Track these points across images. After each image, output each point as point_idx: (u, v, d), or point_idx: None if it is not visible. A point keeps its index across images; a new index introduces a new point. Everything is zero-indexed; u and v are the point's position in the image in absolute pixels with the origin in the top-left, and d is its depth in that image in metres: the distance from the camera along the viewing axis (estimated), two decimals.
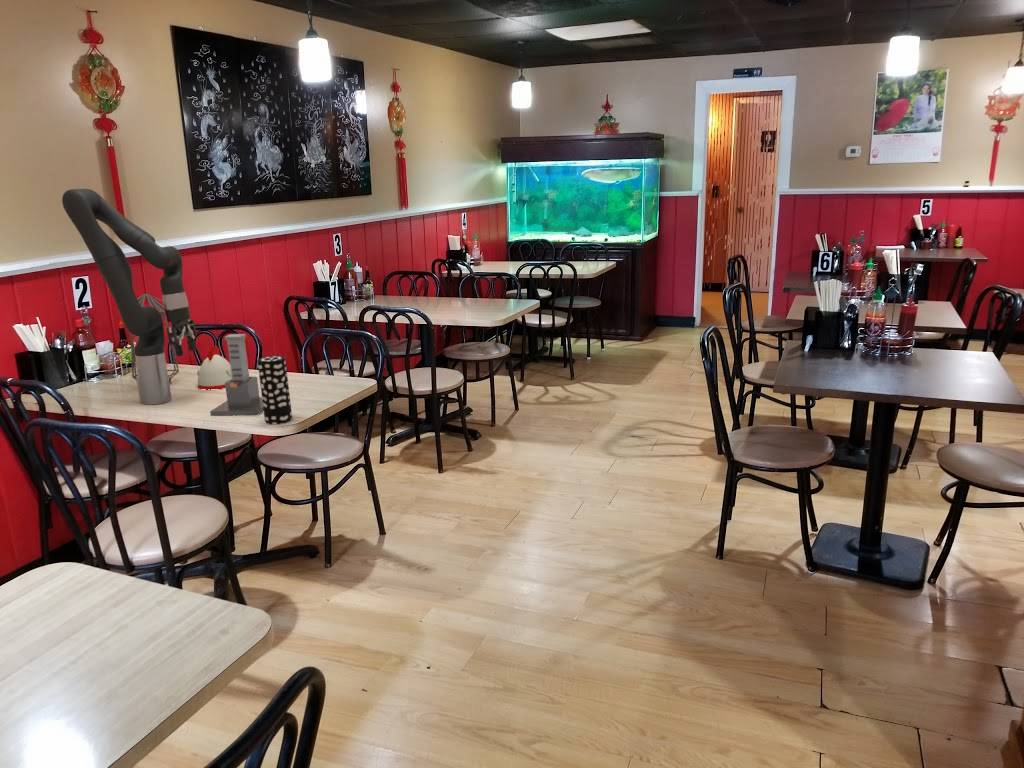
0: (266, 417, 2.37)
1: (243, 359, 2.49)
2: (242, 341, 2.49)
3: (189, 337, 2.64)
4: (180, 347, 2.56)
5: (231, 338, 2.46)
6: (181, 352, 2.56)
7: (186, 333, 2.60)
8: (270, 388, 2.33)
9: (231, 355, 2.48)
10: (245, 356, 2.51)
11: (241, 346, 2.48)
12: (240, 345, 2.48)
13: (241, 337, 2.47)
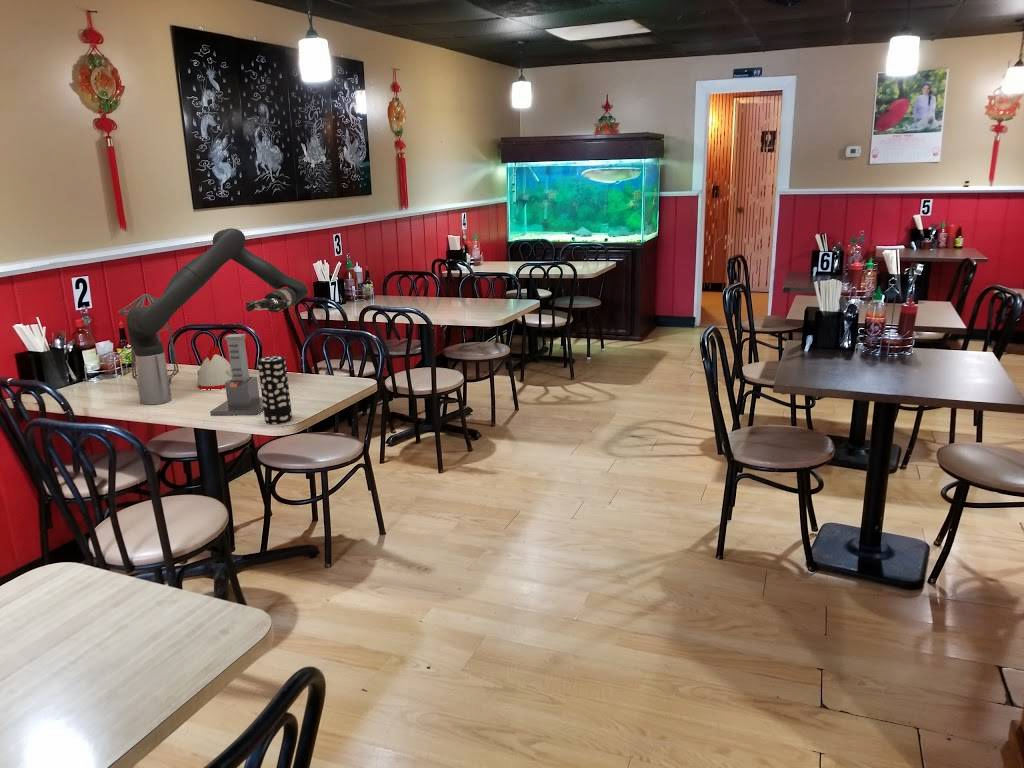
0: (266, 417, 2.37)
1: (243, 359, 2.49)
2: (242, 341, 2.49)
3: (253, 305, 2.71)
4: (275, 309, 2.69)
5: (231, 338, 2.46)
6: (273, 310, 2.67)
7: (265, 308, 2.73)
8: (270, 388, 2.33)
9: (231, 355, 2.48)
10: (245, 356, 2.51)
11: (241, 346, 2.48)
12: (240, 345, 2.48)
13: (241, 337, 2.47)
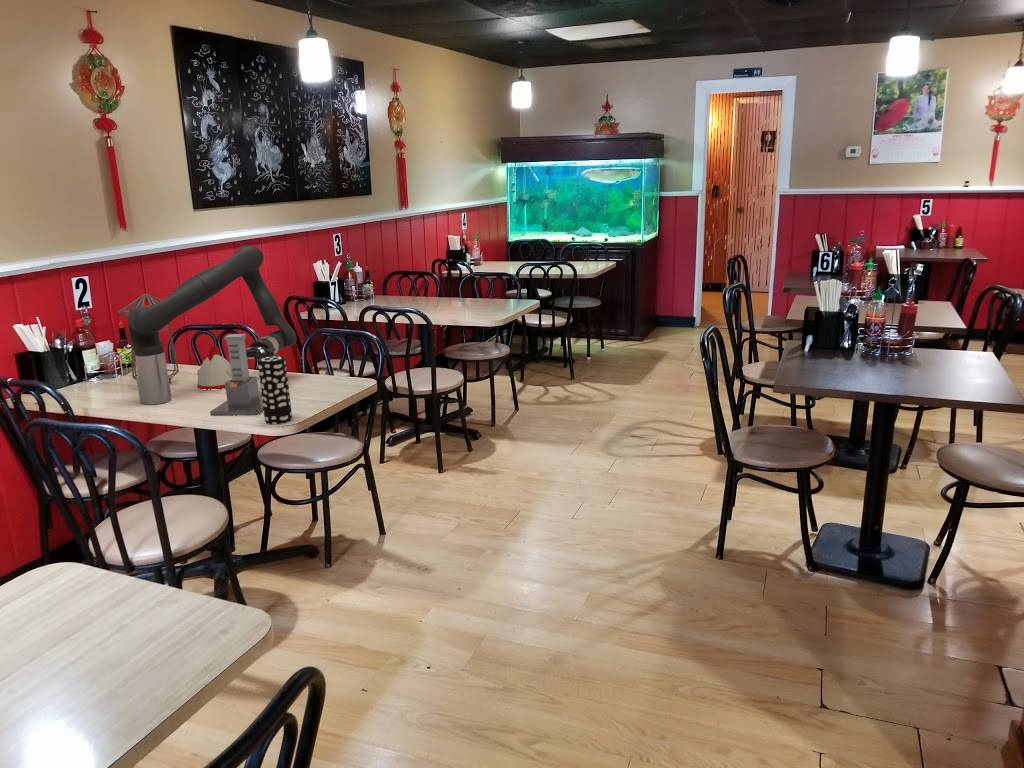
0: (266, 417, 2.37)
1: (243, 359, 2.49)
2: (242, 341, 2.49)
3: None
4: None
5: (231, 338, 2.46)
6: None
7: (251, 357, 2.62)
8: (270, 388, 2.33)
9: (231, 355, 2.48)
10: (245, 356, 2.51)
11: (241, 346, 2.48)
12: (240, 345, 2.48)
13: (241, 337, 2.47)
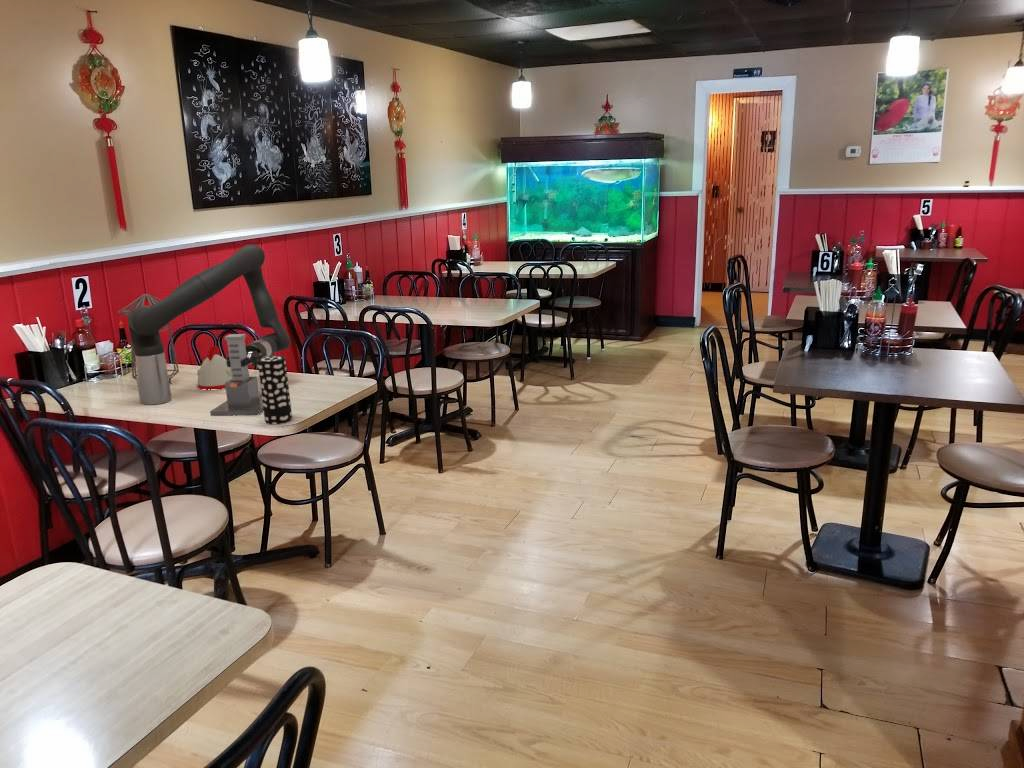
0: (266, 417, 2.37)
1: None
2: (242, 341, 2.49)
3: None
4: None
5: (231, 338, 2.46)
6: (244, 365, 2.49)
7: None
8: (270, 388, 2.33)
9: (231, 355, 2.48)
10: (245, 356, 2.51)
11: (241, 346, 2.48)
12: (240, 345, 2.48)
13: (241, 337, 2.47)
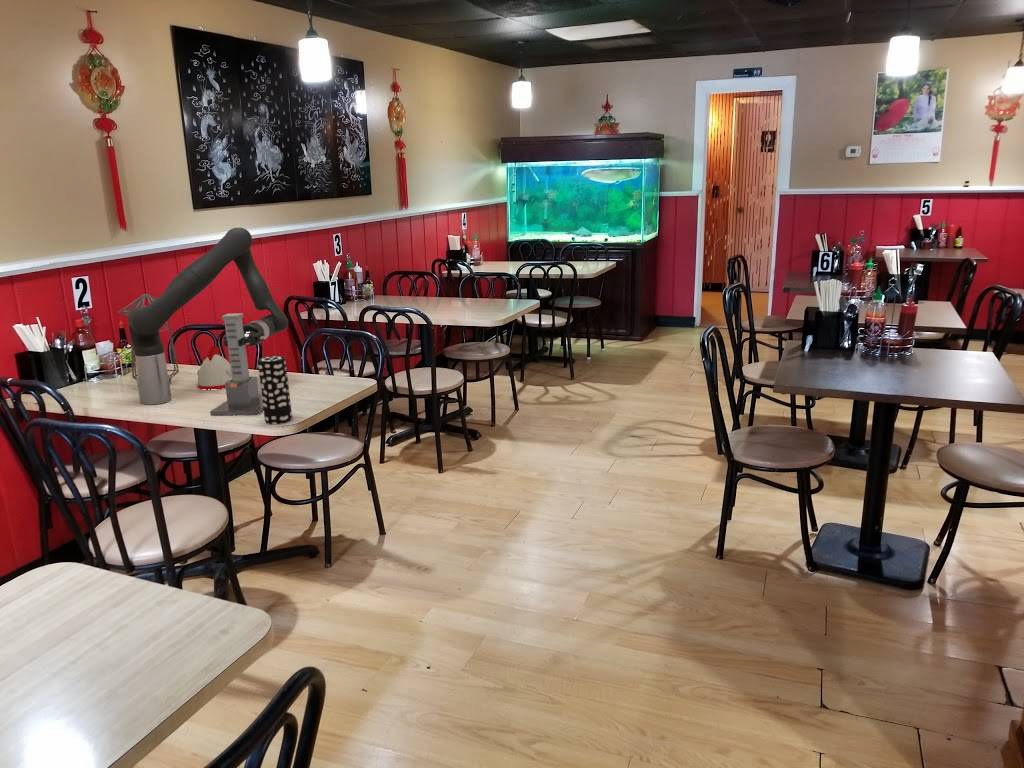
0: (266, 417, 2.37)
1: None
2: (239, 320, 2.47)
3: None
4: (244, 344, 2.49)
5: (228, 317, 2.44)
6: (242, 345, 2.47)
7: None
8: (270, 388, 2.33)
9: (228, 334, 2.46)
10: (242, 336, 2.49)
11: (238, 325, 2.46)
12: (238, 325, 2.46)
13: (238, 316, 2.45)
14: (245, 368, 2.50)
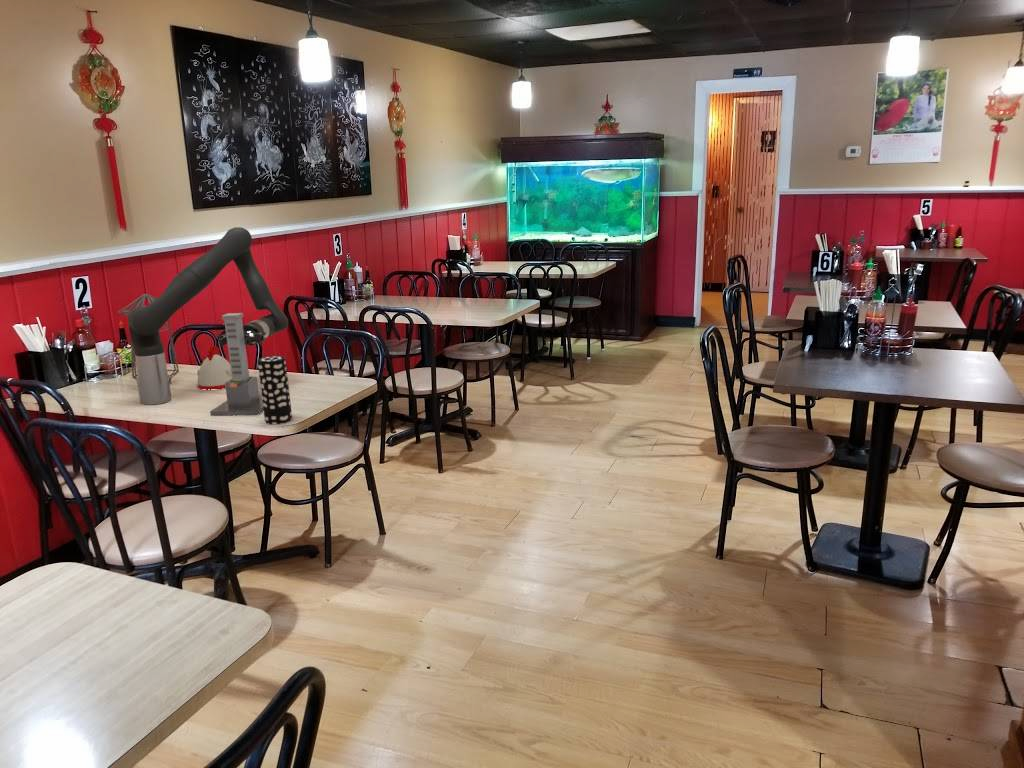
0: (266, 417, 2.37)
1: (240, 338, 2.48)
2: (239, 320, 2.47)
3: None
4: (251, 343, 2.49)
5: (228, 317, 2.44)
6: (248, 344, 2.48)
7: None
8: (270, 388, 2.33)
9: (228, 334, 2.46)
10: (242, 335, 2.49)
11: (238, 325, 2.46)
12: (238, 324, 2.46)
13: (238, 316, 2.45)
14: (245, 367, 2.50)
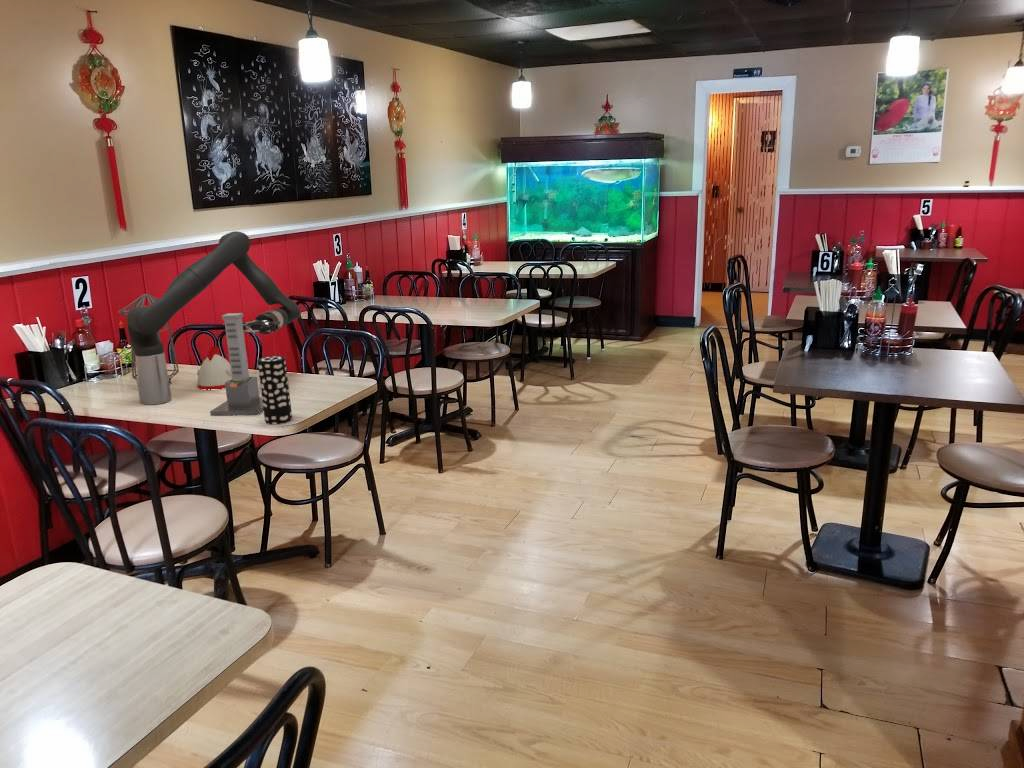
0: (266, 417, 2.37)
1: (240, 338, 2.48)
2: (239, 320, 2.47)
3: (243, 327, 2.65)
4: None
5: (228, 317, 2.44)
6: (264, 332, 2.61)
7: (256, 329, 2.67)
8: (270, 388, 2.33)
9: (228, 334, 2.46)
10: (242, 335, 2.49)
11: (238, 325, 2.46)
12: (238, 324, 2.46)
13: (238, 316, 2.45)
14: (245, 367, 2.50)
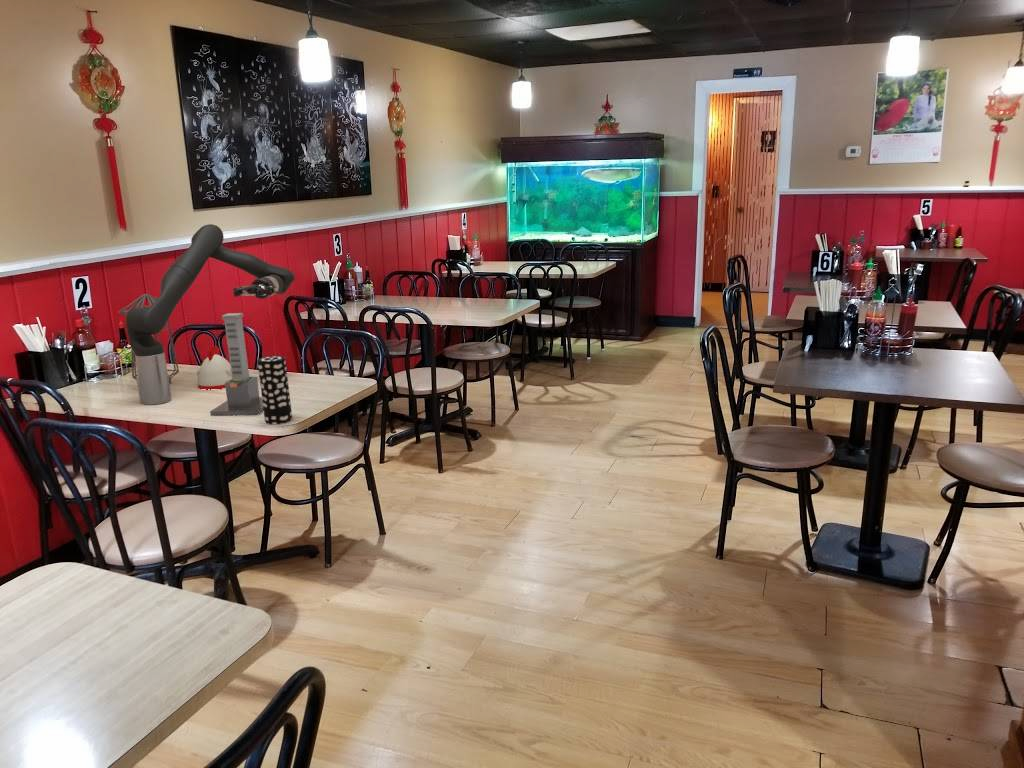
0: (266, 417, 2.37)
1: (240, 338, 2.48)
2: (239, 320, 2.47)
3: (240, 291, 2.75)
4: (262, 294, 2.73)
5: (228, 317, 2.44)
6: (260, 295, 2.71)
7: (253, 293, 2.77)
8: (270, 388, 2.33)
9: (228, 334, 2.46)
10: (242, 335, 2.49)
11: (238, 325, 2.46)
12: (238, 324, 2.46)
13: (238, 316, 2.45)
14: (245, 367, 2.50)
